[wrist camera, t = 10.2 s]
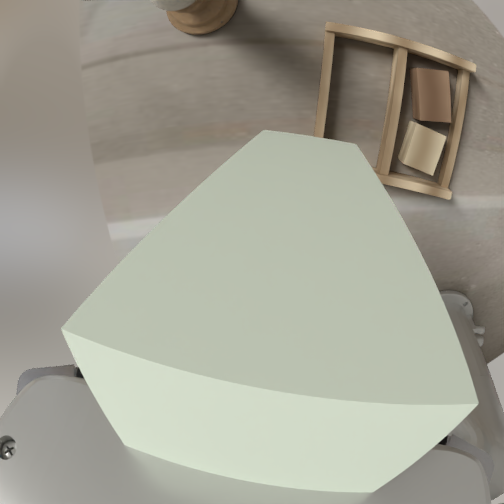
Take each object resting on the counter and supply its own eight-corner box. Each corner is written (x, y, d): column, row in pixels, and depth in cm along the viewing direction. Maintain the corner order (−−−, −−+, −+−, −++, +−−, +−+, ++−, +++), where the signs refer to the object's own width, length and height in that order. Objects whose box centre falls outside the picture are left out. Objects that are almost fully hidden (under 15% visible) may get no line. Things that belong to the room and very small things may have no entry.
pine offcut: (437, 132, 30) (446, 136, 28) (424, 168, 33) (432, 175, 30) (409, 120, 30) (416, 123, 28) (397, 157, 33) (403, 163, 31)
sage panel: (356, 144, 12) (479, 403, 2) (312, 333, 18) (285, 538, 8) (263, 129, 13) (60, 328, 2) (246, 321, 18) (182, 517, 8)
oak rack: (465, 65, 25) (476, 64, 22) (441, 191, 33) (450, 200, 31) (325, 26, 27) (326, 21, 24) (310, 163, 36) (309, 170, 33)
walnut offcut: (438, 71, 26) (448, 71, 24) (441, 119, 29) (451, 122, 27) (408, 69, 27) (416, 67, 25) (412, 117, 30) (420, 120, 28)
